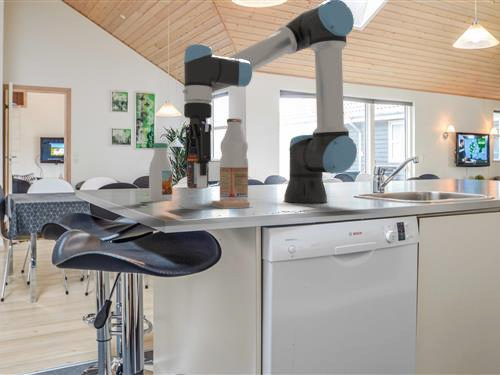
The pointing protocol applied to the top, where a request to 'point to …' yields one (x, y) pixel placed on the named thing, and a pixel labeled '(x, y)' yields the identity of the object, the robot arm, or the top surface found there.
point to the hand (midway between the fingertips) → (197, 187)
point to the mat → (203, 207)
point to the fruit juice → (234, 163)
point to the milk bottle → (160, 175)
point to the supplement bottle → (194, 169)
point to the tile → (230, 204)
